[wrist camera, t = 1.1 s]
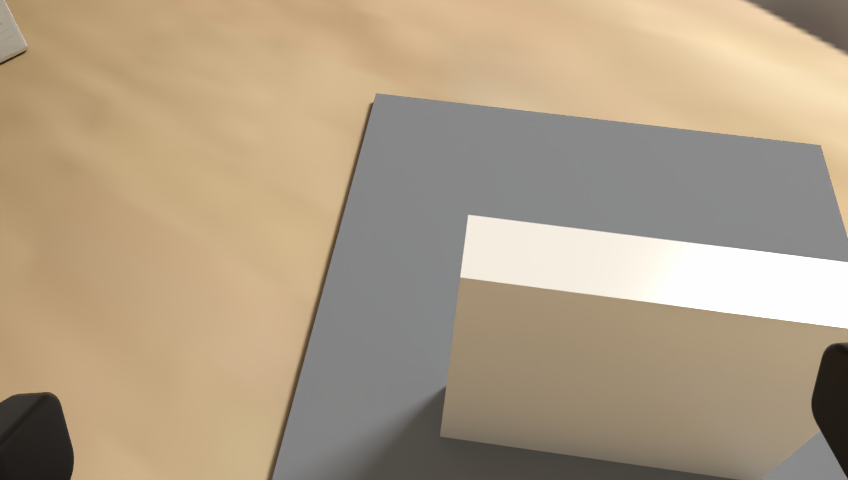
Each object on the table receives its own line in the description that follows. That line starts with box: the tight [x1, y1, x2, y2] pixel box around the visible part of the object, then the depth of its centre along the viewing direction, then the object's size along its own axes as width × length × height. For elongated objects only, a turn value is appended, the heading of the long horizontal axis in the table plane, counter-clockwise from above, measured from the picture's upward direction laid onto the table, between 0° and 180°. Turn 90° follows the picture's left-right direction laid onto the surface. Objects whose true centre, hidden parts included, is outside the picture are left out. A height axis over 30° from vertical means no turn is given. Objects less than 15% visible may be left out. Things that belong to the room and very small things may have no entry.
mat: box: [272, 93, 848, 480], centre depth 26 cm, size 20×20×1 cm
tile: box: [440, 215, 848, 480], centre depth 19 cm, size 2×10×9 cm, turn 82°
